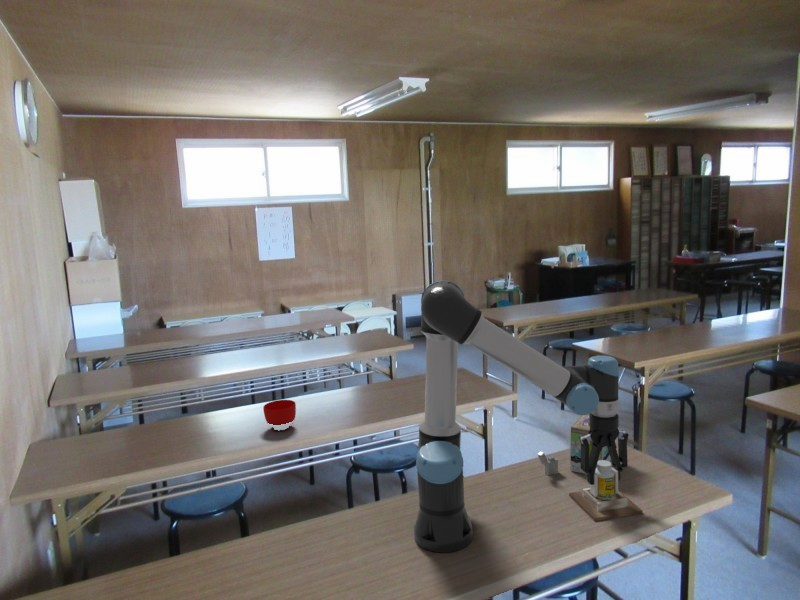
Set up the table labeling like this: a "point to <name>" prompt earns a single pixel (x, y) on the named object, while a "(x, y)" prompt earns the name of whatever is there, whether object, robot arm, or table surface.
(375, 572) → the table surface
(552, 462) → the lighter
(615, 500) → the socket board
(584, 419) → the tea box
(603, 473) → the supplement bottle
